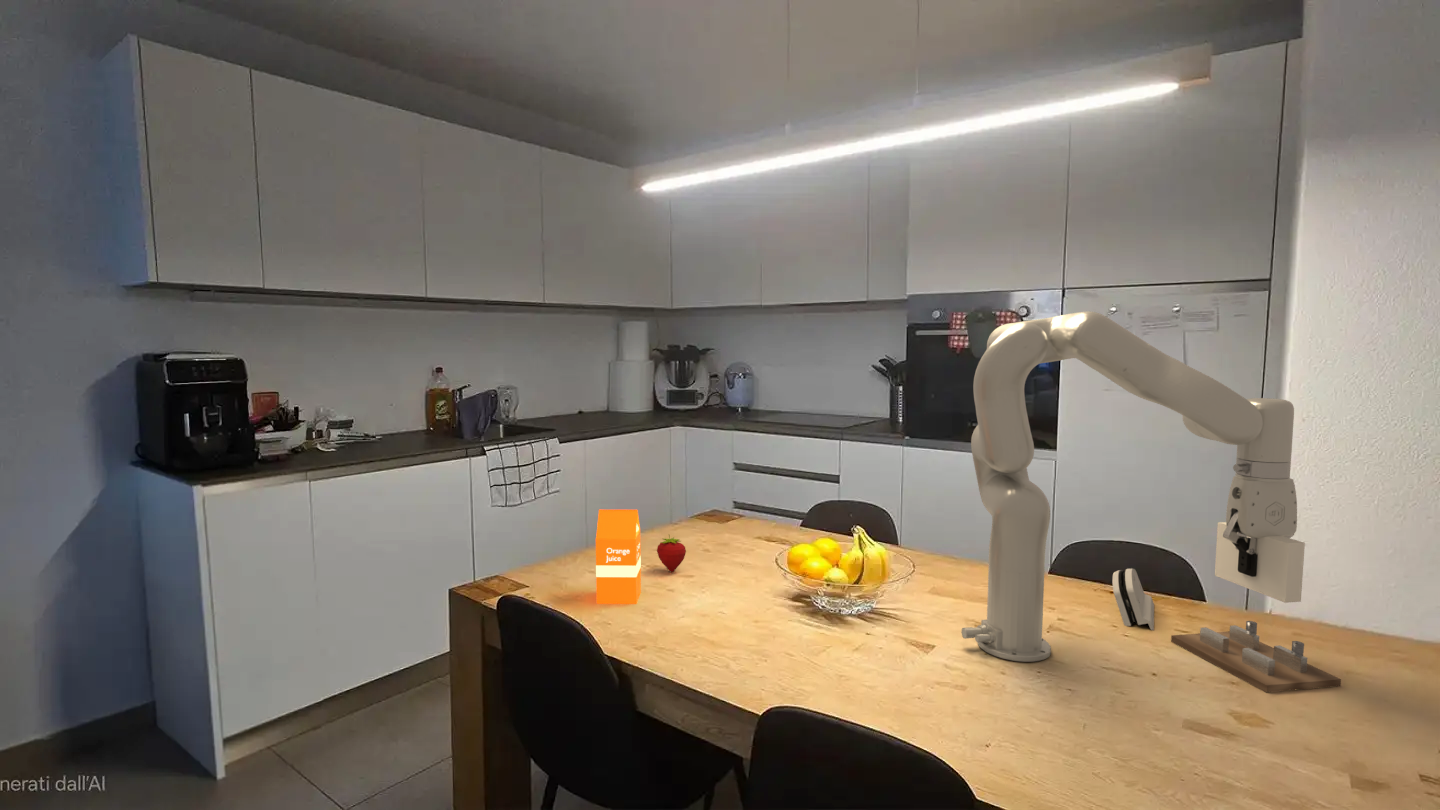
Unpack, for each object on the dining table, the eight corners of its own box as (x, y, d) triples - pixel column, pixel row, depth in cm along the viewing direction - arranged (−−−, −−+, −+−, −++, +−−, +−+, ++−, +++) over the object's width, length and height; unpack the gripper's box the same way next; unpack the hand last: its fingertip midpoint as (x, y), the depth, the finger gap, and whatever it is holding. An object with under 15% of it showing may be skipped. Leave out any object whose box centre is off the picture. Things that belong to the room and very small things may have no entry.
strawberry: (679, 577, 173) (679, 537, 172) (652, 573, 176) (651, 533, 175) (690, 570, 178) (690, 531, 177) (664, 566, 181) (663, 527, 181)
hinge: (1153, 631, 141) (1136, 581, 141) (1127, 634, 143) (1110, 585, 144) (1154, 604, 155) (1138, 559, 156) (1130, 607, 157) (1114, 563, 158)
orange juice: (636, 604, 155) (635, 513, 154) (596, 604, 156) (594, 513, 154) (641, 591, 163) (640, 505, 162) (602, 591, 163) (601, 505, 162)
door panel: (1285, 602, 118) (1289, 543, 117) (1214, 575, 132) (1217, 522, 131) (1300, 601, 119) (1304, 542, 118) (1229, 574, 133) (1232, 521, 132)
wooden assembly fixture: (1266, 692, 116) (1268, 661, 115) (1171, 641, 135) (1172, 614, 135) (1340, 686, 118) (1343, 655, 117) (1236, 636, 138) (1237, 610, 137)
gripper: (1239, 475, 119) (1233, 583, 120) (1324, 472, 121) (1317, 578, 123) (1202, 467, 126) (1197, 569, 128) (1283, 464, 129) (1277, 564, 130)
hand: (1256, 572), depth 125 cm, fingers closed on door panel, 3 cm apart
